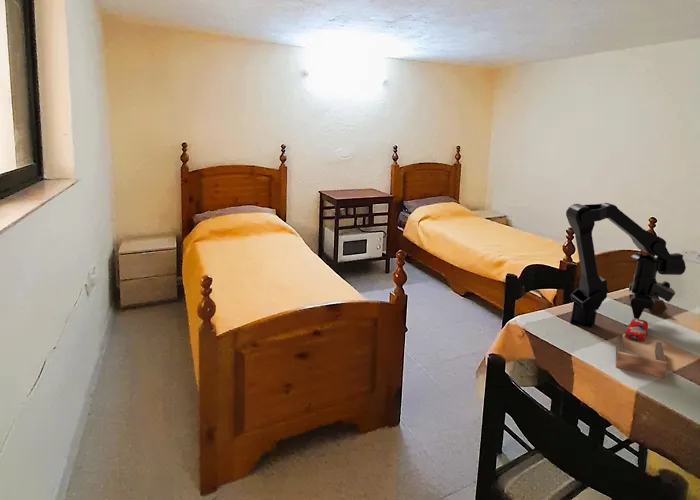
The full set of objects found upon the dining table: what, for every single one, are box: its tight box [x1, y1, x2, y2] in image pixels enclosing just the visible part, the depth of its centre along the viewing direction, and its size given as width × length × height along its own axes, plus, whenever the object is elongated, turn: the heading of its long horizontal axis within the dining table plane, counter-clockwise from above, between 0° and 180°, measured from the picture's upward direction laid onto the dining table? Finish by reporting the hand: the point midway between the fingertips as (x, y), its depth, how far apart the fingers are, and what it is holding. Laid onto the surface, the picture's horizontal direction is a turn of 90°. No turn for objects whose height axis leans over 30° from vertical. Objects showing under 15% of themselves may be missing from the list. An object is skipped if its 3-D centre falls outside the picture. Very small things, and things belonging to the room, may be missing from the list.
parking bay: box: [615, 333, 668, 379], centre depth 127 cm, size 11×16×4 cm
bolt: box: [648, 294, 668, 315], centre depth 166 cm, size 6×5×15 cm
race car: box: [624, 318, 649, 342], centre depth 143 cm, size 13×5×4 cm, turn 141°
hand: (636, 319), depth 151 cm, fingers closed
